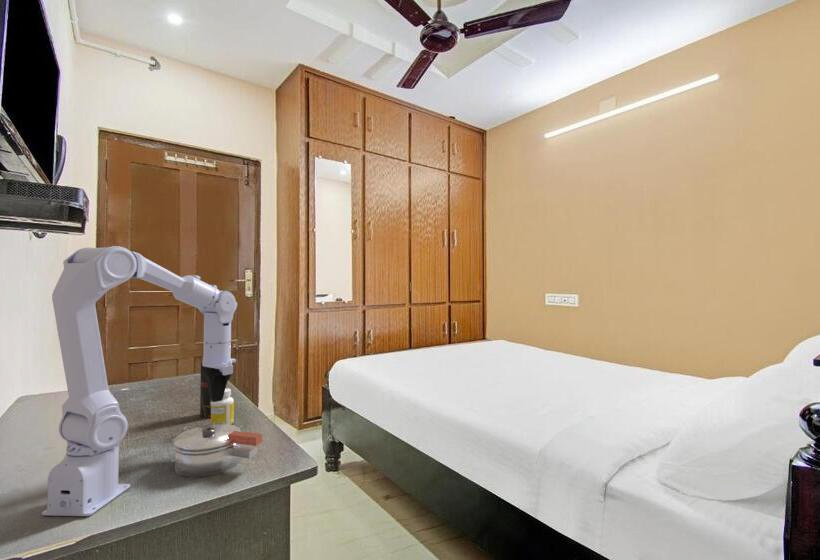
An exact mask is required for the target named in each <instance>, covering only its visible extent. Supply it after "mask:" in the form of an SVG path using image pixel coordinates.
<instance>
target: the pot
mask: <svg viewBox="0 0 820 560" xmlns="http://www.w3.org/2000/svg"><path fill="white" fill-rule="evenodd" d="M175 438H176V437H173V439H171V447H173V450H174V452H175V454H174V455H175V456H174V457H175V460H174V461H175V462H174V463H175V464H174V468H175V469H174V472H175V473H176V475H178V476H180V477H184V478H193V479H194V478H205V477H206V478H207V477H211V476H215V475H219V474H222V473H225V472H227V471H228V470H230V469H233V468H234V467H235V466H236V465H237V464H238V463H239V462H240V458H244V459H251V458H252V457H254V456H255V455H257V454H258V446H252V445H245V444H237V443H231V444H229V445H226V446H223V447H220V448H216V449H211V450H205V451H184V450H180V449H177V448H176V447H175V445H174V440H175Z"/></svg>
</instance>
